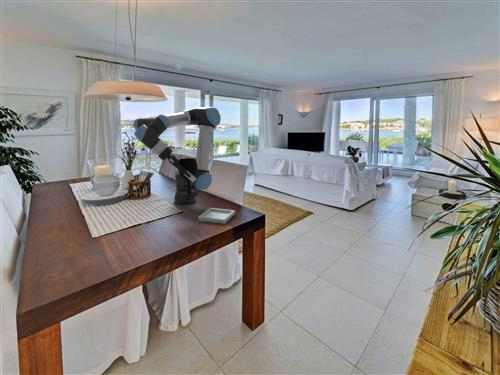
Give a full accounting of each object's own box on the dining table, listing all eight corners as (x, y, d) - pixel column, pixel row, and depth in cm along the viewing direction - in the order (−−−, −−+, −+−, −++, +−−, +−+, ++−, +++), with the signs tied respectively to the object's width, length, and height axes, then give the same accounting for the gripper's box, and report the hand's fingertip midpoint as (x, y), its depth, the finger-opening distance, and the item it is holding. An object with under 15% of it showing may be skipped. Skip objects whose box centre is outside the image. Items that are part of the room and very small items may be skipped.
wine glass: (200, 192, 145) (199, 158, 140) (195, 197, 135) (193, 160, 130) (183, 191, 146) (182, 157, 141) (176, 196, 136) (174, 160, 131)
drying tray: (210, 211, 153) (210, 207, 153) (234, 214, 149) (234, 210, 148) (198, 220, 138) (198, 216, 138) (225, 224, 134) (225, 219, 133)
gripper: (158, 153, 141) (188, 179, 149) (156, 158, 120) (190, 188, 128) (167, 144, 141) (196, 170, 149) (167, 147, 120) (200, 177, 128)
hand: (194, 178), depth 139 cm, fingers closed on wine glass, 10 cm apart
